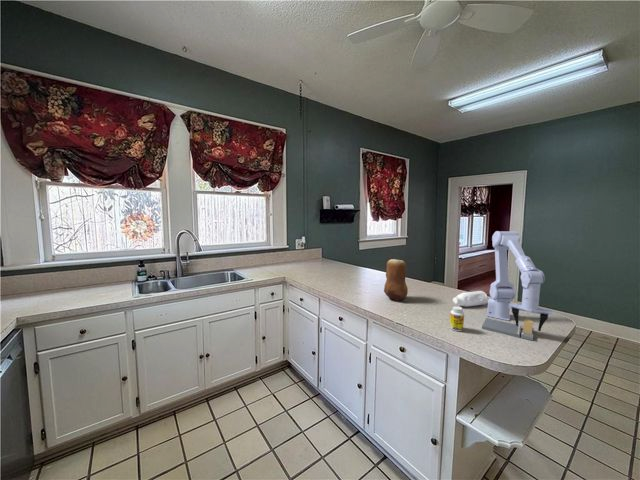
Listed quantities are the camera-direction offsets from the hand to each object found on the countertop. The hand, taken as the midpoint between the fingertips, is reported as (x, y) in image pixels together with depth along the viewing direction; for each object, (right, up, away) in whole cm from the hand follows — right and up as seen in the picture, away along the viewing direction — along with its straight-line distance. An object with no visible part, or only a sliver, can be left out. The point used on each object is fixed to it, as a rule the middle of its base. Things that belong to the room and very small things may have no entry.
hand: (528, 327), depth 116 cm
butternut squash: (-45, +2, +47) cm, 65 cm away
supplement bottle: (-28, -3, +6) cm, 29 cm away
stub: (0, -3, 0) cm, 3 cm away
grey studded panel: (-7, -2, +6) cm, 10 cm away
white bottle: (-6, 0, +35) cm, 35 cm away
